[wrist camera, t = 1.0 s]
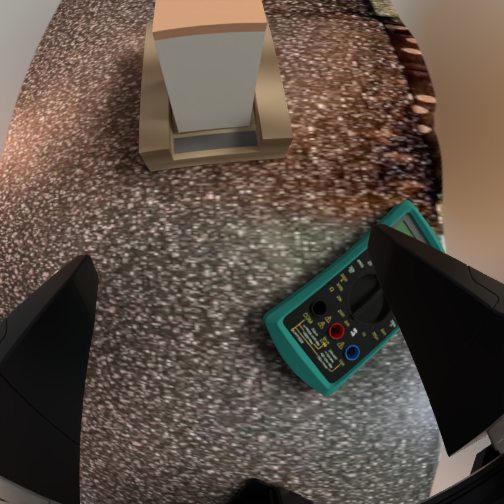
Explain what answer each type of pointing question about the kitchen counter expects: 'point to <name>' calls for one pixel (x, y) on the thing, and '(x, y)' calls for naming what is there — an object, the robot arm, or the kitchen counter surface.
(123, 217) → the kitchen counter surface
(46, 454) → the robot arm
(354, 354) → the digital multimeter
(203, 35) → the switch tab
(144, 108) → the open taupe tray
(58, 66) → the kitchen counter surface
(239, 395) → the kitchen counter surface
